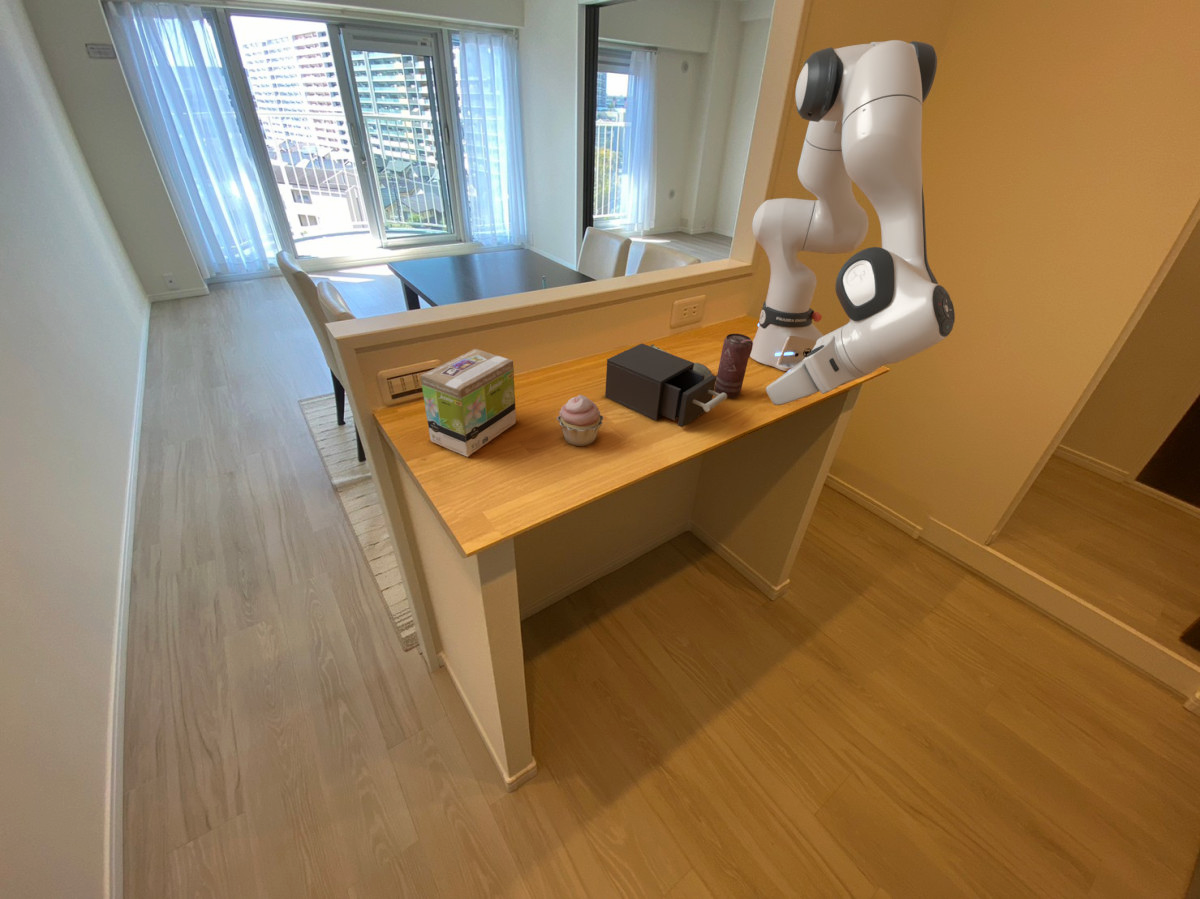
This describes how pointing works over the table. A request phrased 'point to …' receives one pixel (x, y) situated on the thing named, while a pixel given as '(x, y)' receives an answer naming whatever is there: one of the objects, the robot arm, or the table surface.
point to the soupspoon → (696, 367)
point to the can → (733, 364)
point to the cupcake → (580, 421)
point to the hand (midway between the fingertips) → (770, 389)
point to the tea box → (469, 400)
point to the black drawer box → (642, 378)
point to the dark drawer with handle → (689, 396)
